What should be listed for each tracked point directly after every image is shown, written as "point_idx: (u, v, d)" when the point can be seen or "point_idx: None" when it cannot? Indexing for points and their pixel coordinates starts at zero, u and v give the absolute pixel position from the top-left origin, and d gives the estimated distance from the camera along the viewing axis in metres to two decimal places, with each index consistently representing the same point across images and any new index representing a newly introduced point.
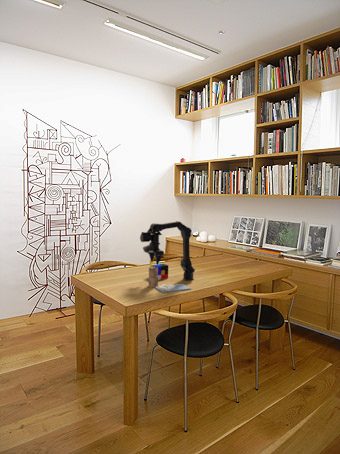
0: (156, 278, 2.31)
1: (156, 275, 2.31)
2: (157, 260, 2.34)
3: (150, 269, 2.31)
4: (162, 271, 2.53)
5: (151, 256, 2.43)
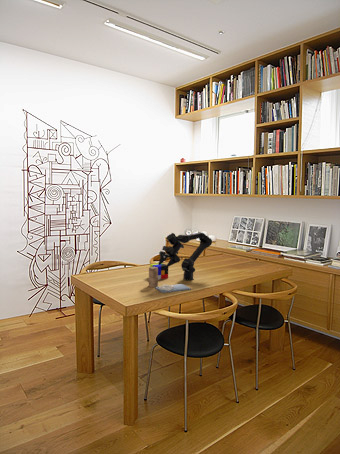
0: (156, 278, 2.31)
1: (156, 275, 2.31)
2: (169, 263, 2.33)
3: (150, 269, 2.31)
4: (162, 271, 2.53)
5: (161, 260, 2.42)
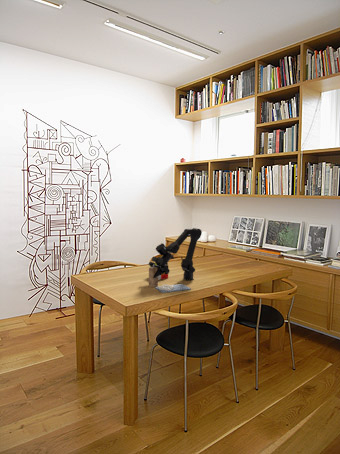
0: (156, 278, 2.31)
1: None
2: (156, 274, 2.30)
3: (150, 269, 2.31)
4: None
5: None
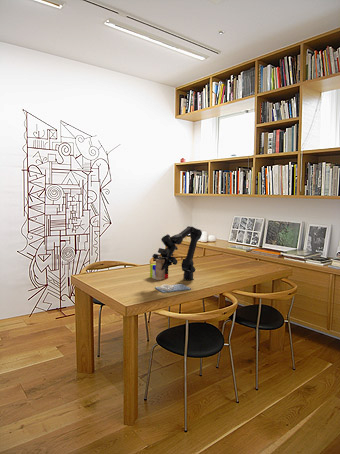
0: (163, 270, 2.26)
1: None
2: (164, 266, 2.24)
3: (157, 261, 2.24)
4: None
5: None
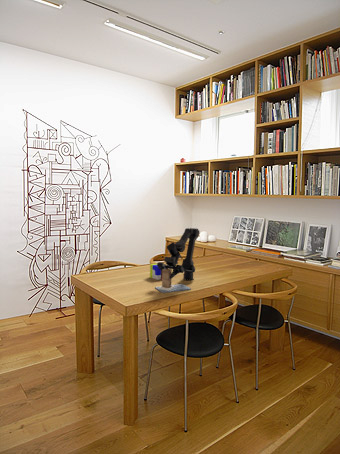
0: (170, 280, 2.24)
1: None
2: (173, 274, 2.22)
3: (164, 271, 2.21)
4: None
5: None
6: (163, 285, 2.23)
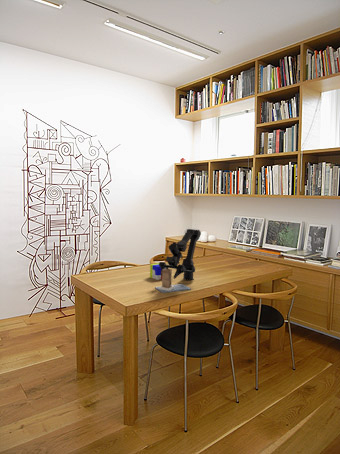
0: (170, 280, 2.24)
1: (170, 277, 2.23)
2: (176, 274, 2.23)
3: (164, 271, 2.21)
4: None
5: None
6: (163, 285, 2.23)
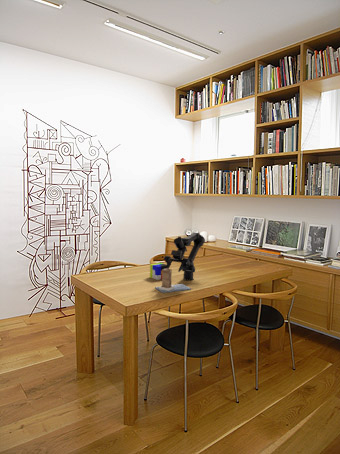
0: (170, 280, 2.24)
1: (170, 277, 2.23)
2: (181, 267, 2.29)
3: (164, 271, 2.21)
4: None
5: (168, 264, 2.34)
6: (163, 285, 2.23)
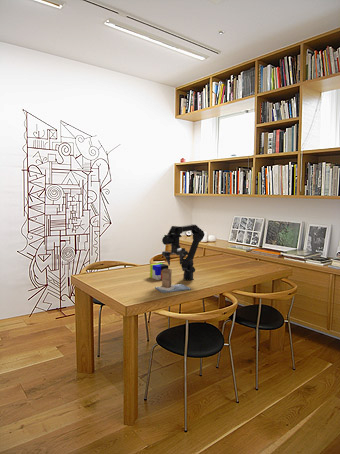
0: (170, 280, 2.24)
1: (170, 277, 2.23)
2: None
3: (164, 271, 2.21)
4: None
5: None
6: (163, 285, 2.23)
